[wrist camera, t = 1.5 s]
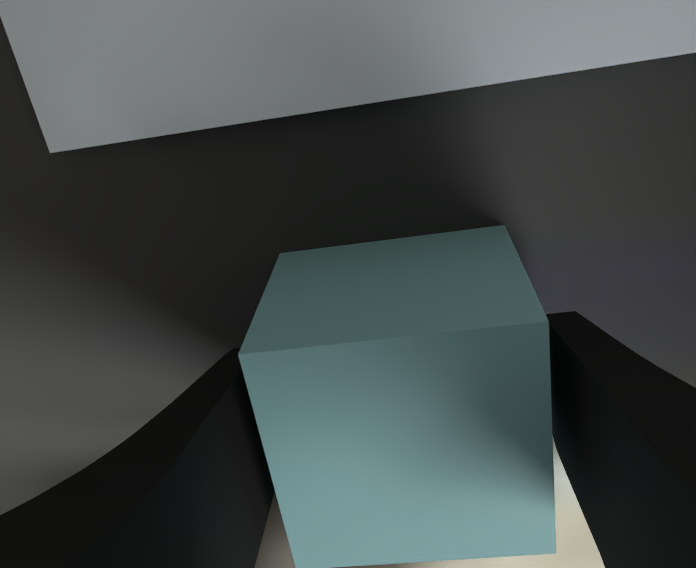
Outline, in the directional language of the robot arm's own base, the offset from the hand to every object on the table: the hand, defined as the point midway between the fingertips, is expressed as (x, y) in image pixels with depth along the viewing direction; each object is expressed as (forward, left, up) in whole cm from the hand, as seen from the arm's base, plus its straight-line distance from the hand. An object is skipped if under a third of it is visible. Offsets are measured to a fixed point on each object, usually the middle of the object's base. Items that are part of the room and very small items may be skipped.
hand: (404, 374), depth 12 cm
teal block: (0, 0, -2) cm, 2 cm away
